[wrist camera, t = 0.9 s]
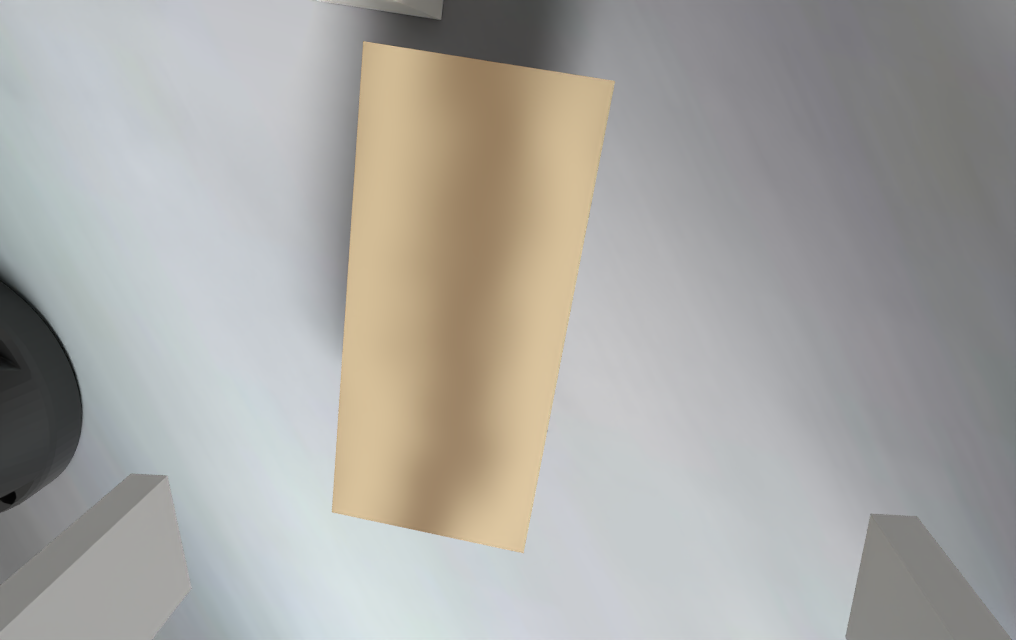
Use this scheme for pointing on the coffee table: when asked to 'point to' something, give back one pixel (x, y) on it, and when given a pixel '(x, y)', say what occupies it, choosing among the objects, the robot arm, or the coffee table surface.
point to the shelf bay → (398, 6)
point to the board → (460, 286)
